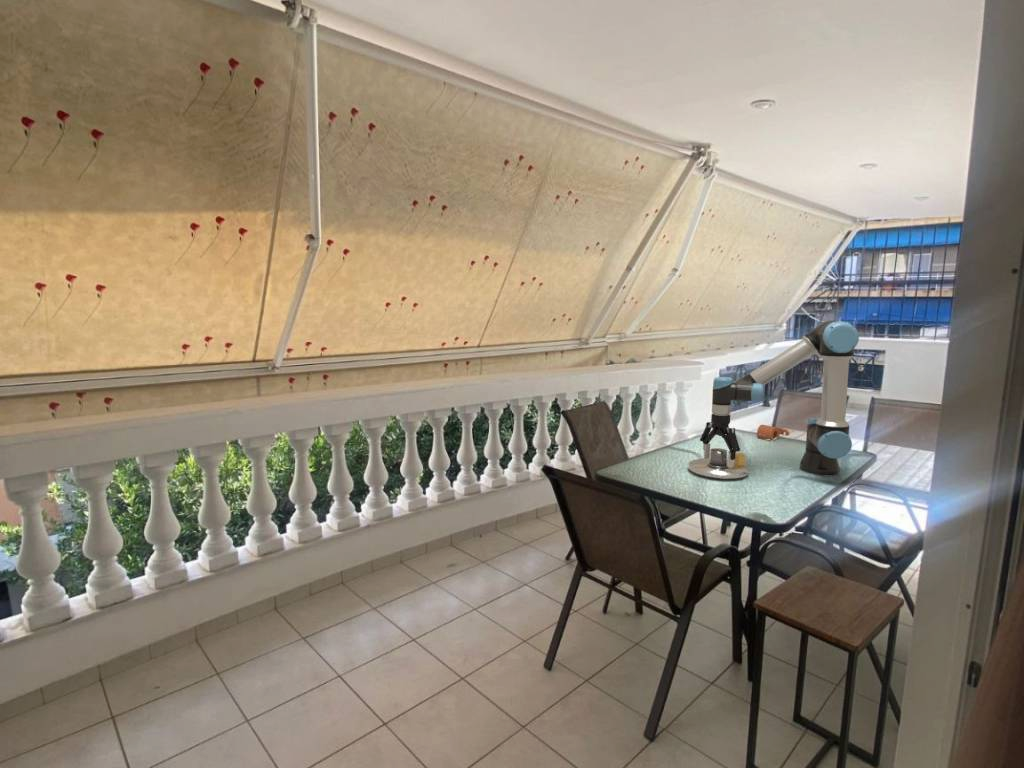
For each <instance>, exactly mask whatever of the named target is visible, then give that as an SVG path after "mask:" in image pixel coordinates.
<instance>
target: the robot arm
mask: <svg viewBox="0 0 1024 768" xmlns="http://www.w3.org/2000/svg"><path fill="white" fill-rule="evenodd" d="M859 341H860V335H859V332H858V330H857V328H856V327H855V326H854V325H852V324H851V323H850V322H847V321H839V320H828V321H824V322H823V323H820V324H819V325H817V326H816V327H815V328H813V329H812V330H810V331H809V332H808V333H806V334H805V335H803V336H802V339H801V340H800V341H798V342H797V343H795V344H794V345H791V347H788V348H787V349H785V350H784V351H783V352H780V353H779V354H778V355H776V356H774V357H773V358H772V359H770V360H769V361H766V362H765V363H764V364H761V365H760V366H759V367H757V368H756V369H754V370H752V371H750V373H748V374H746V375H745V376H743V377H738V378H737V379H736V380H735V381H734V382H733V378H732V377H727V376H717V377H714V379H713V383H712V398H711V400H712V403H711V417H710V418H711V419H710V421H708V422H706V423H705V427H704V430H703V432H702V434H701V437H700V438H699V441H700V442H702V444H703V447H702V449H703V459H708V458H710V452H711V441H712V440H713V438H715V436H719V437H721V438H722V439H723V440H724V443H725V444H726V446H727V448H728V450H729V451H727V460H728V467H734V462H735V455H736V453H739V452H741V447H740V445H739V442H738V438H737V436H736V427H730V426H729V425H730V423H731V410H732V401H733V402H734V401H736V402H738V401H739V402H753V403H754V402H755V403H756V402H762V401H763V399H764V392H765V391H764V390H765V389H764V386H765V385H766V384H768V383H770V382H771V381H773V380H774V379H776V378H778V377H780V376H781V375H783V374H785V373H786V372H787V371H789V370H790V369H792V368H794V367H795V366H797V365H799V364H801V363H802V362H804V361H805V360H807V359H809V358H810V357H812V356H813V355H816V356H818V355H819V356H820V357H821V358H822V360H823V366H822V369H823V370H822V371H823V372H822V386H821V387H822V388H821V389H822V390H821V403H820V406H821V407H820V417H812V418H809V419H807V424H806V441H805V451H804V454H803V456H802V458H801V460H800V462H799V469H800V470H801V471H802V472H804V473H808V474H812V475H817V476H825V475H832V476H836V475H835V474H837V475H839V474H840V473H839V472H841V468H840V465H839V461H838V459H841V458H844V457H845V456H847V455H849V453H850V451H851V450H852V448H853V443H852V442H853V441H852V438H851V437H850V423H849V422H848V421H846V420H847V419H846V417H847V416H846V413H847V396H848V383H849V380H848V379H849V368H850V367H849V366H850V360H851V359H852V358H854V356H855V347H857V345H858V344H859ZM838 473H839V474H838Z"/></svg>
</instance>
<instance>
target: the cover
mask: <svg viewBox="0 0 1024 768" xmlns="http://www.w3.org/2000/svg"><path fill="white" fill-rule="evenodd" d="M727 460H728V450H727V449H725V448H716V447H713V448H710V463H709V466H710V467H712V468H716V469H725V468H727V467H728V465H727V464H726V462H727Z"/></svg>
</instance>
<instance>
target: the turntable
mask: <svg viewBox="0 0 1024 768" xmlns="http://www.w3.org/2000/svg"><path fill="white" fill-rule="evenodd" d="M709 463H710V458H708V459H704V458H697V459H693V460H691V461H689V462H688V469H689V471H691V472H693V473H694V474H696V475H700V476H702V475H703V476H702V477H705V476H707V477H706V478H709V477H712V478H711V479H715V478H721V479H720V480H733V479H741V478H745V477H747V476H748V475H749V468H748V466H746V454H745V453H743V452H736V455H735V460H734V467H727V468H725V469H716V468H712V467H710V466H709ZM726 464H727V465H728V459H727V462H726Z"/></svg>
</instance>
